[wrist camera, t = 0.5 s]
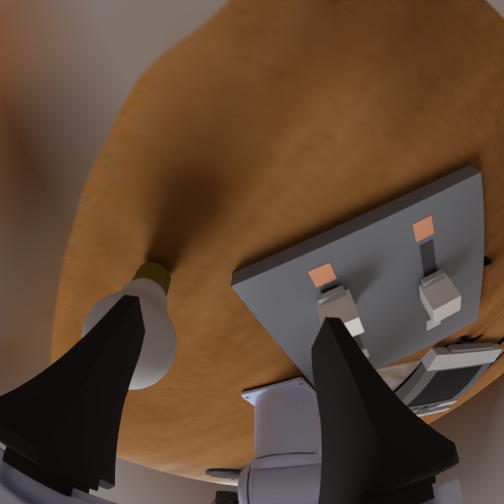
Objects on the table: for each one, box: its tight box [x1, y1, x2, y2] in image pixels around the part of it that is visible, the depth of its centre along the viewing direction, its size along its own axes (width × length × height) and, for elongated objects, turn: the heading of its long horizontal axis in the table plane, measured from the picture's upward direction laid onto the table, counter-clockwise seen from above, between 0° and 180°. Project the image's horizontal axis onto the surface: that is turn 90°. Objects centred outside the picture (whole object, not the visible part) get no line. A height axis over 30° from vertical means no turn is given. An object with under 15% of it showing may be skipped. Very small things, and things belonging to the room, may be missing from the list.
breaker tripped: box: [419, 269, 461, 324], centre depth 18 cm, size 3×3×3 cm
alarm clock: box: [395, 342, 502, 417], centre depth 32 cm, size 17×5×16 cm
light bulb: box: [82, 262, 177, 390], centre depth 17 cm, size 6×6×10 cm
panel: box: [231, 165, 484, 387], centre depth 22 cm, size 18×20×2 cm
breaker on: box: [316, 285, 364, 337], centre depth 19 cm, size 3×3×3 cm
